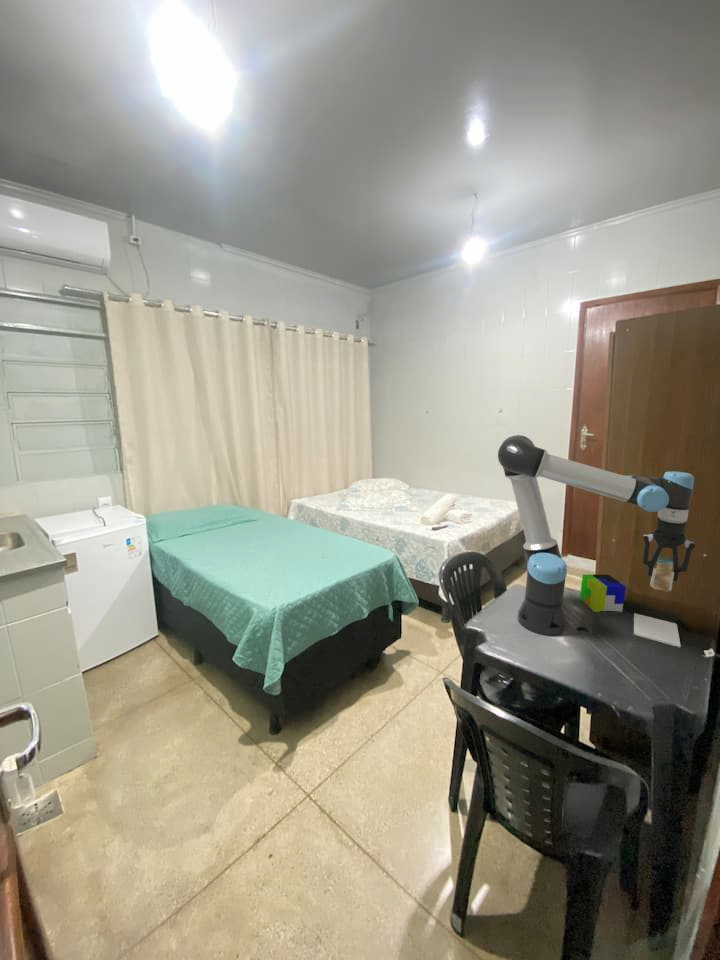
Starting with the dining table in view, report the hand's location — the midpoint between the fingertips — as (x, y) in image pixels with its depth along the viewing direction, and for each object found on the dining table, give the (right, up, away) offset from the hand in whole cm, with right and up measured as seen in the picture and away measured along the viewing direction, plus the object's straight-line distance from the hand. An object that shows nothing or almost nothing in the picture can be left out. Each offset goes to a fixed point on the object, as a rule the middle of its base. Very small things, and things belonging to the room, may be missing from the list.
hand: (660, 587), depth 131 cm
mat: (-1, -15, +1) cm, 15 cm away
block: (0, 0, 0) cm, 0 cm away
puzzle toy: (-10, -12, +17) cm, 23 cm away
